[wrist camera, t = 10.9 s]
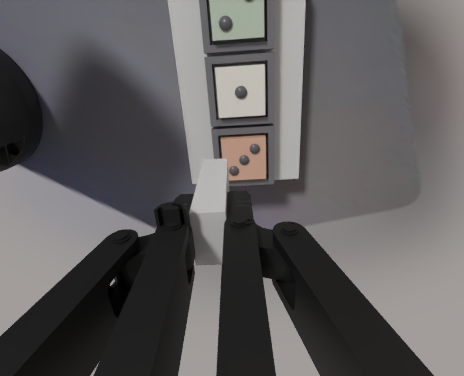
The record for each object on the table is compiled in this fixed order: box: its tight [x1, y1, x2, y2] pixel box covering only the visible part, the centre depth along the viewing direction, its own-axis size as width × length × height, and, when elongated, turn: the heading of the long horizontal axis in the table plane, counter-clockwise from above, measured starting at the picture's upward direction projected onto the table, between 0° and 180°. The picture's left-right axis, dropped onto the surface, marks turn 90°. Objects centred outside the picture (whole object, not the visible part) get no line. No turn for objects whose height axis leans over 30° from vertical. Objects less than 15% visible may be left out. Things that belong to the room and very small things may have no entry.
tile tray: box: [168, 0, 306, 186], centre depth 28 cm, size 12×20×5 cm, turn 4°
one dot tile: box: [215, 64, 265, 118], centre depth 26 cm, size 4×4×2 cm
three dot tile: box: [221, 133, 266, 181], centre depth 29 cm, size 4×4×2 cm
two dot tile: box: [209, 0, 264, 42], centre depth 24 cm, size 4×4×2 cm
